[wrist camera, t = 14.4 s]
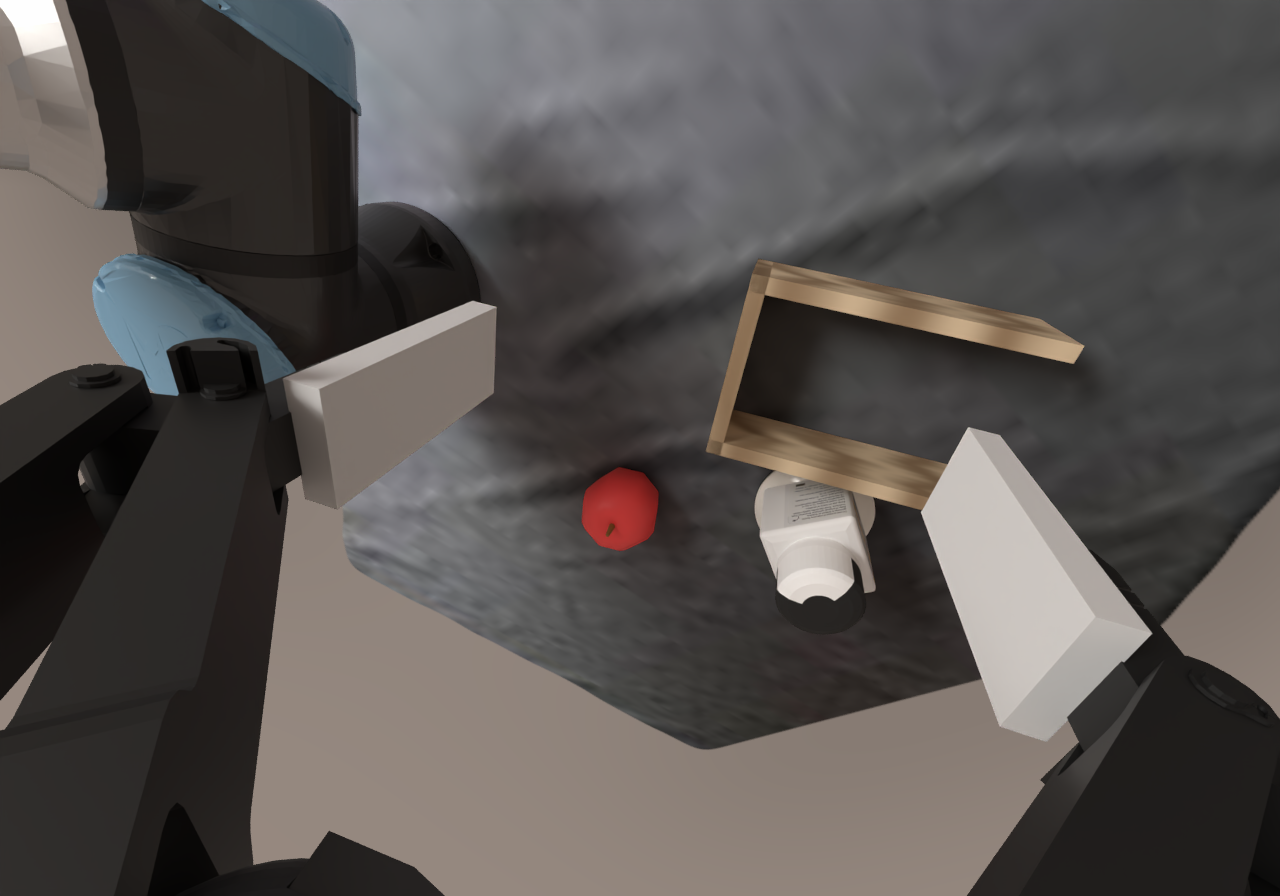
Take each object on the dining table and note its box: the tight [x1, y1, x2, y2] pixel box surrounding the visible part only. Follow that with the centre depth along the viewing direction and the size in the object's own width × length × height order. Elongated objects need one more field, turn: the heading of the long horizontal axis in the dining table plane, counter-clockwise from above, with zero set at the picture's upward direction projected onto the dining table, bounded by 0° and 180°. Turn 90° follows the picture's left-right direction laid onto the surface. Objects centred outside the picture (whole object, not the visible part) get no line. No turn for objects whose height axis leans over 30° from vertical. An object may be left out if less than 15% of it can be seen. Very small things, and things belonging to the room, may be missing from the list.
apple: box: [582, 467, 659, 551], centre depth 52 cm, size 8×8×8 cm
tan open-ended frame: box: [706, 259, 1084, 510], centre depth 41 cm, size 21×14×7 cm
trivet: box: [755, 470, 875, 536], centre depth 51 cm, size 11×11×1 cm
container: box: [760, 479, 876, 634], centre depth 45 cm, size 8×8×13 cm
